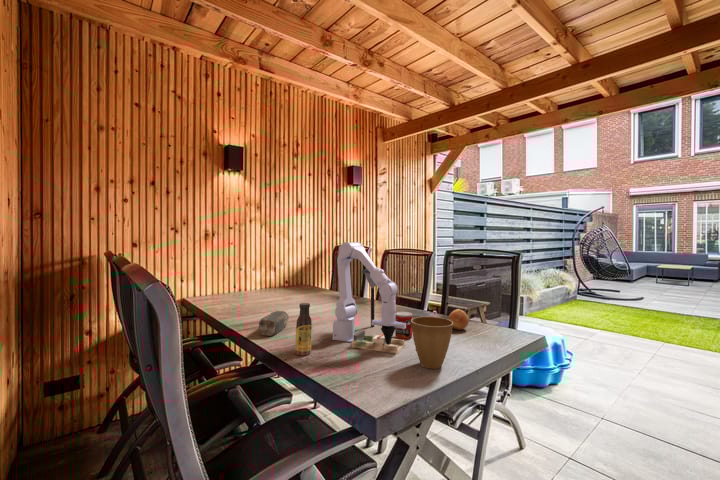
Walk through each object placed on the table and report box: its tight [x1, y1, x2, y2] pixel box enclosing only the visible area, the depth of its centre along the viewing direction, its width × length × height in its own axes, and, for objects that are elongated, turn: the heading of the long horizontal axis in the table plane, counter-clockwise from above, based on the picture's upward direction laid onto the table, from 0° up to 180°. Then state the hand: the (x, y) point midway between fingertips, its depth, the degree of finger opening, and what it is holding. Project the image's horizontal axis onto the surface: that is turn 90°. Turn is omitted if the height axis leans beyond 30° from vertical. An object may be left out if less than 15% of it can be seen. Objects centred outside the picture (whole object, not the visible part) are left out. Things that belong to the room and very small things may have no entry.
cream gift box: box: [372, 333, 386, 345], centre depth 142 cm, size 5×6×4 cm
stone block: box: [258, 310, 290, 337], centre depth 166 cm, size 20×9×10 cm
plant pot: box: [411, 316, 454, 370], centre depth 122 cm, size 15×15×16 cm
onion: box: [447, 308, 470, 331], centre depth 169 cm, size 10×10×10 cm
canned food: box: [394, 311, 413, 341], centre depth 155 cm, size 8×8×11 cm
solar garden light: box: [360, 267, 377, 328], centre depth 174 cm, size 12×12×30 cm
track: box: [351, 329, 406, 355], centre depth 142 cm, size 20×10×5 cm, turn 66°
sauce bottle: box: [294, 302, 313, 357], centre depth 134 cm, size 6×6×20 cm
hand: (388, 344), depth 141 cm, fingers closed
